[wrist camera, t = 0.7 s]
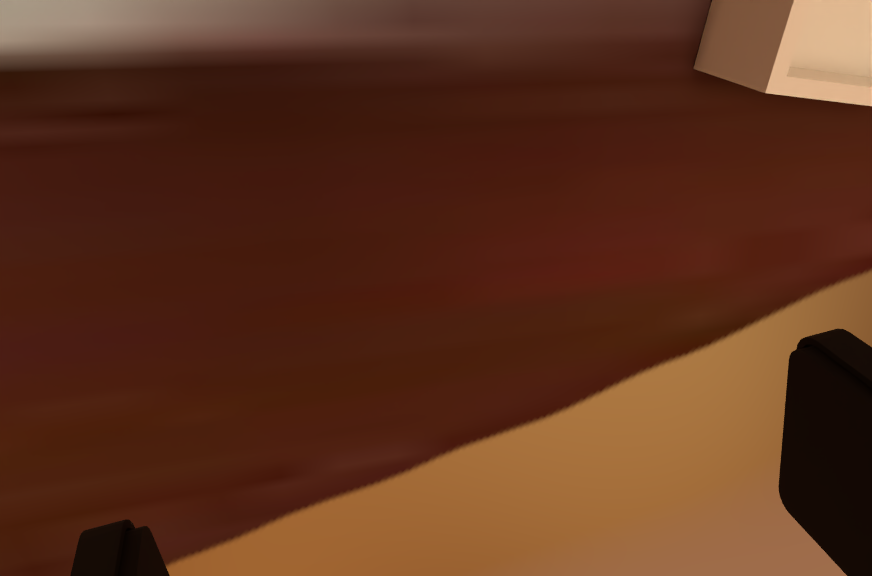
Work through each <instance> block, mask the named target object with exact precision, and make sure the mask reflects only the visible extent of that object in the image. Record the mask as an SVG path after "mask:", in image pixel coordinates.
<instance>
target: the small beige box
mask: <svg viewBox="0 0 872 576" xmlns="http://www.w3.org/2000/svg"><path fill="white" fill-rule="evenodd" d="M693 69H696V70H698V71H701V72H704V73H707V74H710V75H713V76H716V77H719V78H722V79H725V80H728V81H731V82H734V83H737V84H740V85H743V86H746V87H749V88H752V89H755V90H758V91H761V92H764V93H769V94H777V95H785V96H793V97H802V98H810V99H818V100H826V101H834V102H842V103H851V104H859V105H867V106H872V0H712V2H711V6H710V9H709V13H708V17H707V20H706V24H705V28H704V31H703V35H702V39H701V42H700V46H699V50H698V54H697V57H696V61H695V65H694V68H693Z"/></svg>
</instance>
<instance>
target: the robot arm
mask: <svg viewBox="0 0 872 576" xmlns="http://www.w3.org/2000/svg"><path fill="white" fill-rule="evenodd" d="M784 416H785V417H784V428H783V440H782V452H781V464H780V478H779V493H780V497H781V500H782V503H783V504H784V506H785V508H786V510H787V511H788V512H789V513H790V514H791V516H792V517H793V518H795V520H796V521H797V522H798V523H799V524H800V525H801V526H802V527H803V528H804V529H805V531H806V532H807V533H808V534H809V535H810V536H811V537H812V538H813V539H814V540H815V541H816V543H818V545H819V546H820V547H821V548H822V549H823V550H824V551H825V552H826V553H827V554H828V555H829V557H830V558H831V559H832V560H833V561H834V562H835V563H836V564H837V565H838V566H839V567H840V568H841V569H842V571H843V572H844V573H845V574H846V575H847V576H872V347H870V346H869V345H867V344H866V343H864V342H863V341H862V340H860V339H859V338H857V337H856V336H854V335H853V334H851V333H850V332H848V331H846V330H844V329H835V330H831V331H827V332H823V333H820V334H816V335H812V336H809V337H805V338H803V339H801V340H800V342H799V343H798V345H797V349H796V350H795V351H793V352H792V353H791V355H790V358H789V366H788V379H787V390H786V403H785V415H784ZM71 576H169V573H168V571H167V568H166V566H165V564H164V561H163V559H162V557H161V554H160V552H159V549H158V547H157V545H156V542H155V540H154V538H153V535H152V533H151V531H150V529H149V528H148V527H147V526H143V527H140V528H136V529H135V527H134V525H133V523H132V522H131V521H130V520H122V521H119V522H115V523H111V524H107V525H104V526H100V527H96V528H93V529H89V530H85V531H83V532H82V533H81V535H80V538H79V541H78V546H77V550H76V554H75V559H74V563H73V567H72V572H71Z"/></svg>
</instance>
